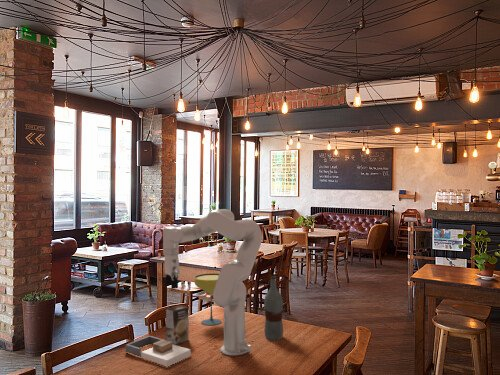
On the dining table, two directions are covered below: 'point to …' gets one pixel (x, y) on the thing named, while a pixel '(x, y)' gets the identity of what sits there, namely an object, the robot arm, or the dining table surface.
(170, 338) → the coffee box
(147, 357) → the white flat block
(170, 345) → the tile
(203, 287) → the cocktail glass
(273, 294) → the bottle
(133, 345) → the tray
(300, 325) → the dining table surface
